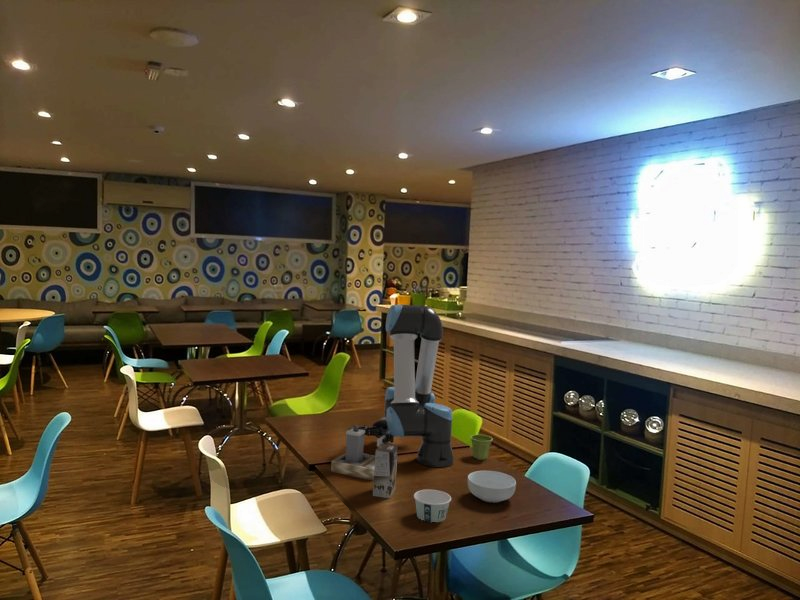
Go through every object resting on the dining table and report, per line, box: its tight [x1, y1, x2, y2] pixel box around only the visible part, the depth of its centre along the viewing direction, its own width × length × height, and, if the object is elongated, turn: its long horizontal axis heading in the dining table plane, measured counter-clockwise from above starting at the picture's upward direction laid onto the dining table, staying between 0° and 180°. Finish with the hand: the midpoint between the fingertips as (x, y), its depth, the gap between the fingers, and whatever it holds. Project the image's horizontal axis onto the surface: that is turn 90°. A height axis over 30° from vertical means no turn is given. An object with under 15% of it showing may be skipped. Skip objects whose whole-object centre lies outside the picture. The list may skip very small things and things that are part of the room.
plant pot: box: [469, 434, 494, 461], centre depth 252 cm, size 9×9×9 cm
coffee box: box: [372, 443, 399, 499], centre depth 207 cm, size 9×6×16 cm
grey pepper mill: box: [345, 424, 365, 463], centre depth 229 cm, size 5×5×16 cm
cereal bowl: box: [467, 470, 517, 504], centre depth 208 cm, size 17×17×7 cm
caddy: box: [330, 452, 375, 482], centre depth 229 cm, size 18×15×4 cm
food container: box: [413, 489, 452, 523], centre depth 190 cm, size 12×12×6 cm
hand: (362, 440), depth 235 cm, fingers open, 13 cm apart
